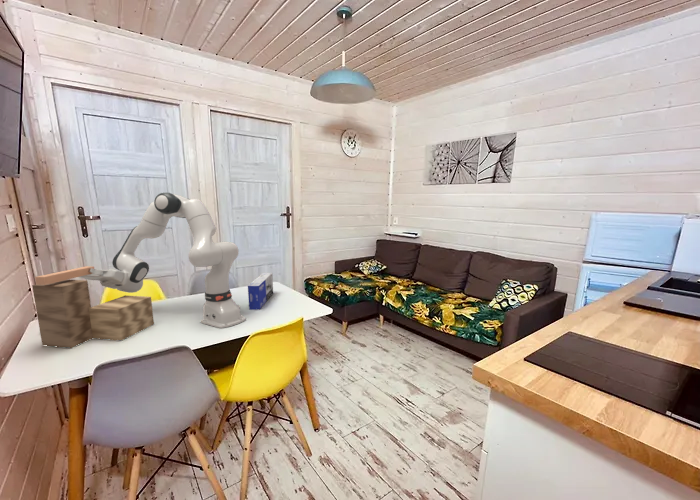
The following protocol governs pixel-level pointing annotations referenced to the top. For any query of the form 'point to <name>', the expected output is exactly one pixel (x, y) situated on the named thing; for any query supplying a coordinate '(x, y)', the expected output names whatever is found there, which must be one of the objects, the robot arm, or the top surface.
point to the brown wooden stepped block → (86, 314)
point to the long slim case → (63, 275)
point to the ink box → (260, 291)
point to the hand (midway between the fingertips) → (84, 269)
